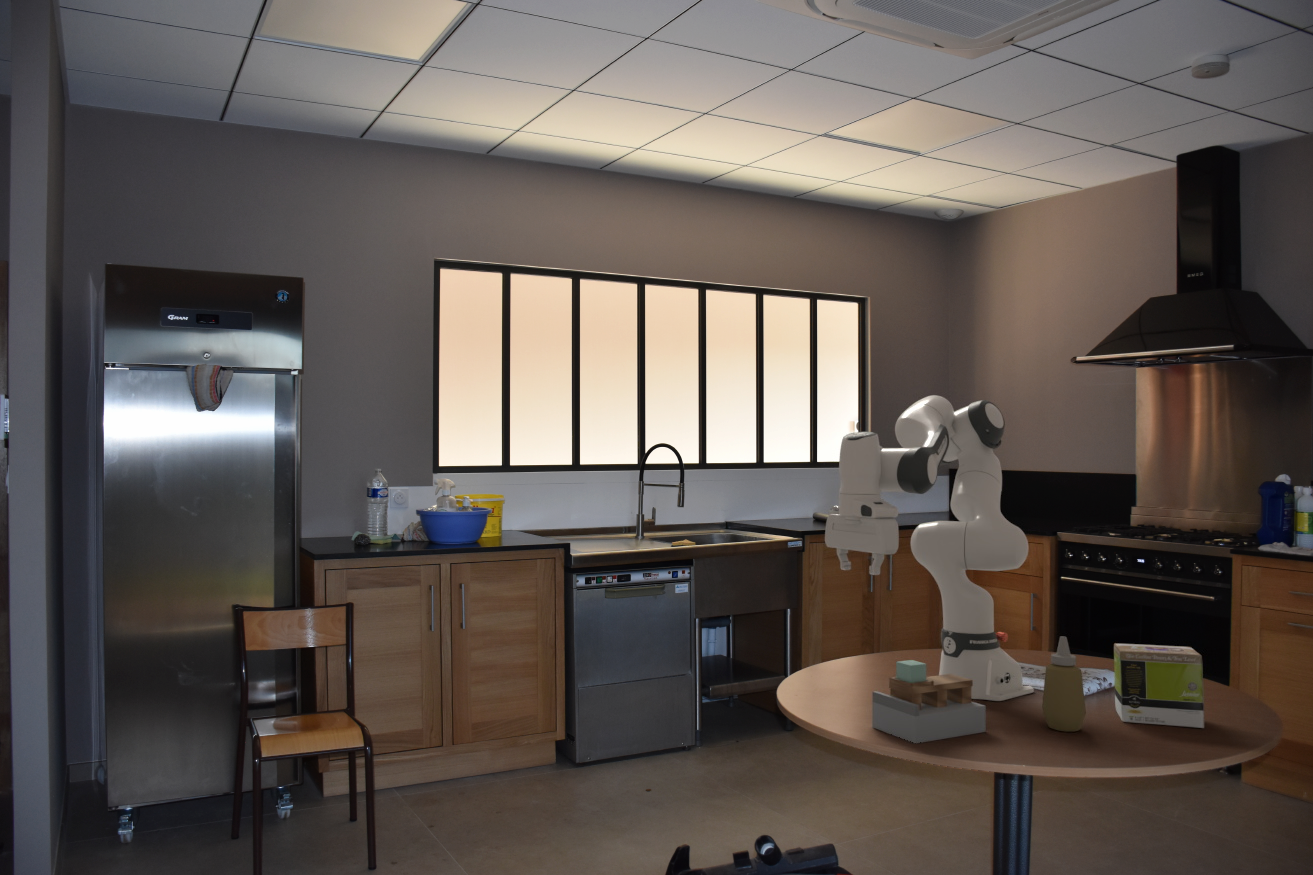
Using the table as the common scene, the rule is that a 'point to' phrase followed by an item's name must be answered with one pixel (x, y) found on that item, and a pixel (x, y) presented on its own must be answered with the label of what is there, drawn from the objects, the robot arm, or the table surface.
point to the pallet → (933, 690)
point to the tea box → (1159, 685)
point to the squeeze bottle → (1063, 691)
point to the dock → (926, 718)
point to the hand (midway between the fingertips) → (859, 572)
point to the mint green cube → (911, 671)
